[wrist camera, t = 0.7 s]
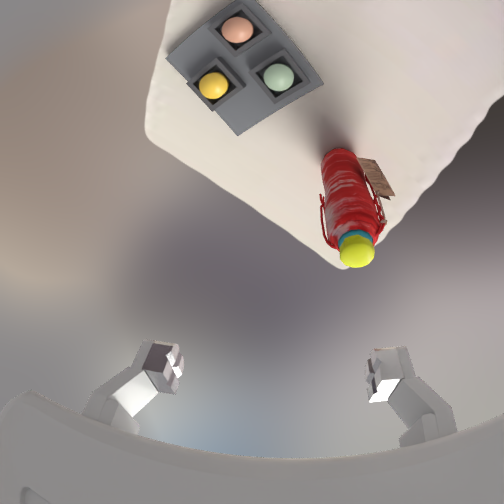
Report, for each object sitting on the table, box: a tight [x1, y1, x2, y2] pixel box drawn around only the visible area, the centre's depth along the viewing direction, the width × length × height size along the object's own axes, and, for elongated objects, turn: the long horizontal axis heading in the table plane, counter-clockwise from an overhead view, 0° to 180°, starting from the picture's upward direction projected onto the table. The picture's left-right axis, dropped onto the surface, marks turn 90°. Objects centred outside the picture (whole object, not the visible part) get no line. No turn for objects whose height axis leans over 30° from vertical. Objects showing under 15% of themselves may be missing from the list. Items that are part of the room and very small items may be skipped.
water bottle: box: [319, 148, 395, 268], centre depth 39 cm, size 12×8×25 cm, turn 121°
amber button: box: [199, 72, 229, 99], centre depth 37 cm, size 4×4×2 cm
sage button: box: [264, 63, 294, 91], centre depth 35 cm, size 4×4×2 cm
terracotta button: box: [222, 17, 254, 43], centre depth 30 cm, size 4×4×2 cm
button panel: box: [165, 0, 324, 136], centre depth 36 cm, size 18×20×4 cm
